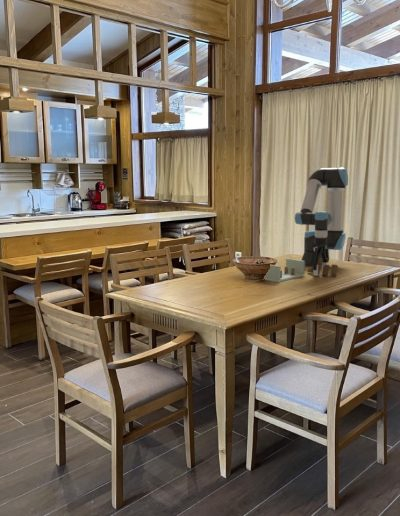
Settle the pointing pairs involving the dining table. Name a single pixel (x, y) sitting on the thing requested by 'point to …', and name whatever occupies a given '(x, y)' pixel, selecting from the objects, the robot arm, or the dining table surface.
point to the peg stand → (286, 271)
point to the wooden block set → (325, 268)
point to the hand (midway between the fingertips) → (319, 274)
